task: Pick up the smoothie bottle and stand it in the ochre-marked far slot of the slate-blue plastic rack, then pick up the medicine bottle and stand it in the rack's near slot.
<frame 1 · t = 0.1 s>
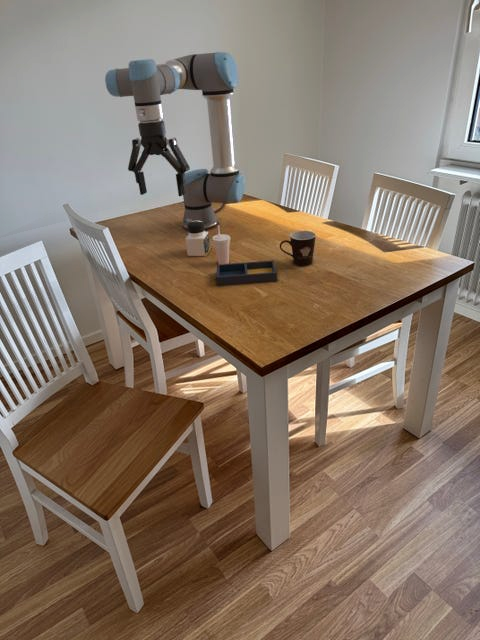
hand: (162, 194, 142), 28 cm above the table, tool pointing down, fingers open, 13 cm apart
coffee mug: (298, 262, 159), on the table
rack: (246, 276, 151), on the table
smoothie: (223, 263, 163), on the table
medicine bottle: (199, 253, 173), on the table
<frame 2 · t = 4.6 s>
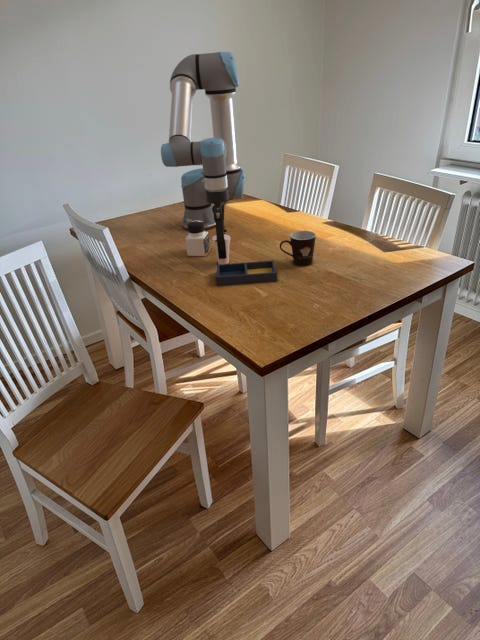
hand: (222, 254, 161), 3 cm above the table, tool pointing down, fingers closed on smoothie, 6 cm apart
smoothie: (223, 263, 163), on the table, touching gripper
everything else where it was.
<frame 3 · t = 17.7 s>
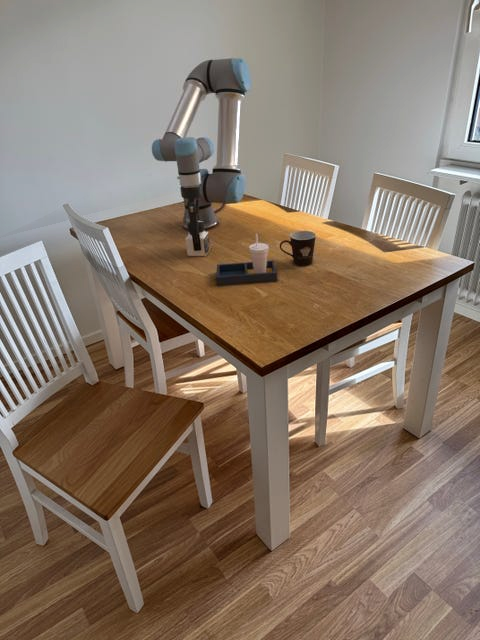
hand: (198, 245, 171), 3 cm above the table, tool pointing down, fingers closed on medicine bottle, 8 cm apart
smoothie: (260, 274, 151), point 1 cm above the table, touching rack
medicine bottle: (199, 253, 173), on the table, touching gripper
everything else where it was.
when the fingers open (4 cm above the table, at t = 25.5 s): medicine bottle stays where it is, resting on rack.
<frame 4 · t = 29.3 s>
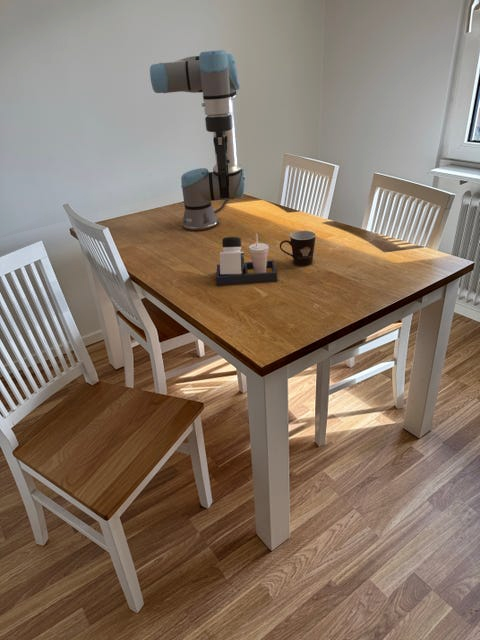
hand: (225, 191, 137), 29 cm above the table, tool pointing down, fingers open, 13 cm apart
medicine bottle: (232, 274, 150), point 2 cm above the table, touching rack
everything else where it was.
at the end: smoothie 0.0 cm from the target spot in the rack, point 0.5 cm above the rack's base; medicine bottle 1.1 cm from the target spot in the rack, point 1.7 cm above the rack's base; smoothie tilted 0° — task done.
